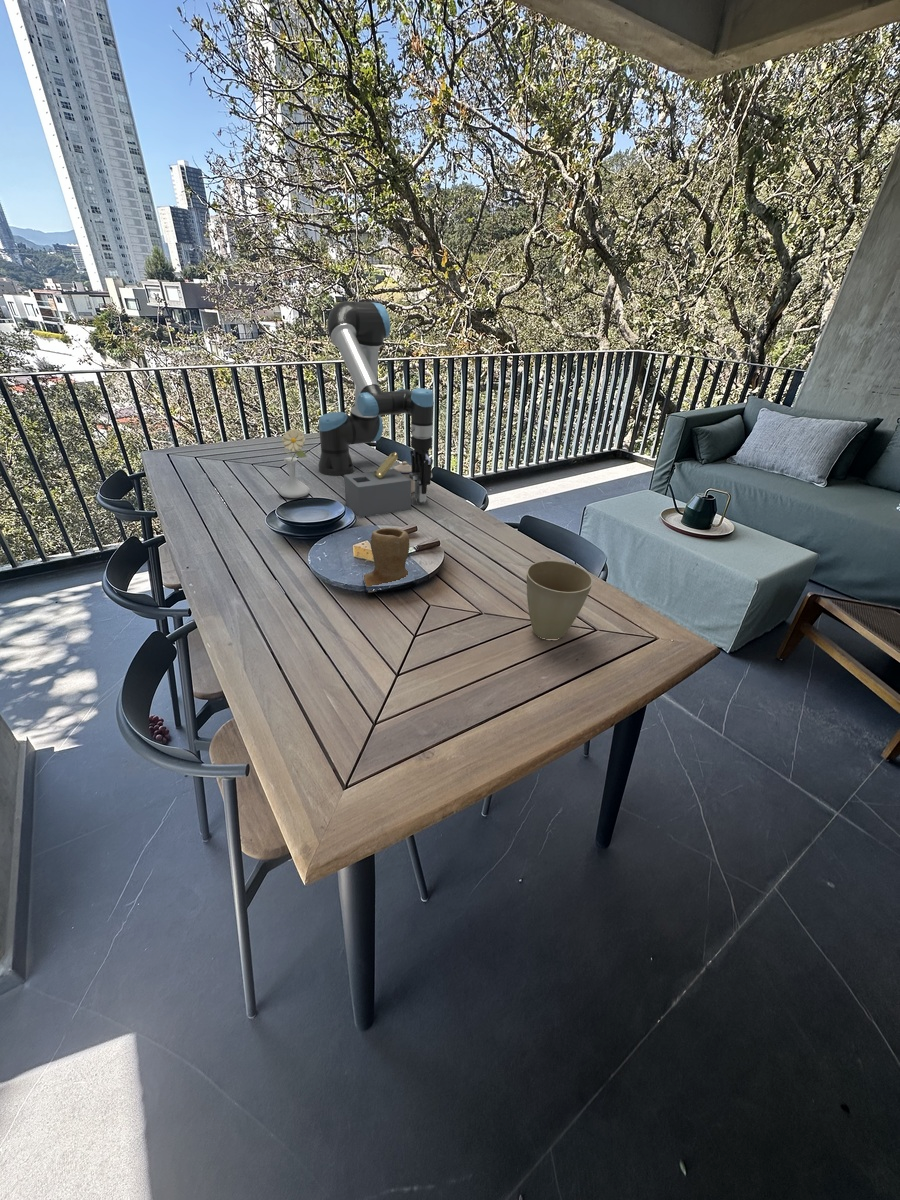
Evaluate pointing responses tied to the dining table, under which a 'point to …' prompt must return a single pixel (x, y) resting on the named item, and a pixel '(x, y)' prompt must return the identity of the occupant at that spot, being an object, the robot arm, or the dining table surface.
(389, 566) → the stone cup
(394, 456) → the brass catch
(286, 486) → the flower in vase
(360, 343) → the robot arm
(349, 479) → the post block
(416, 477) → the steel pin
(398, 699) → the dining table surface
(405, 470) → the teacup with lid
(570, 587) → the plant pot
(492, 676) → the dining table surface
